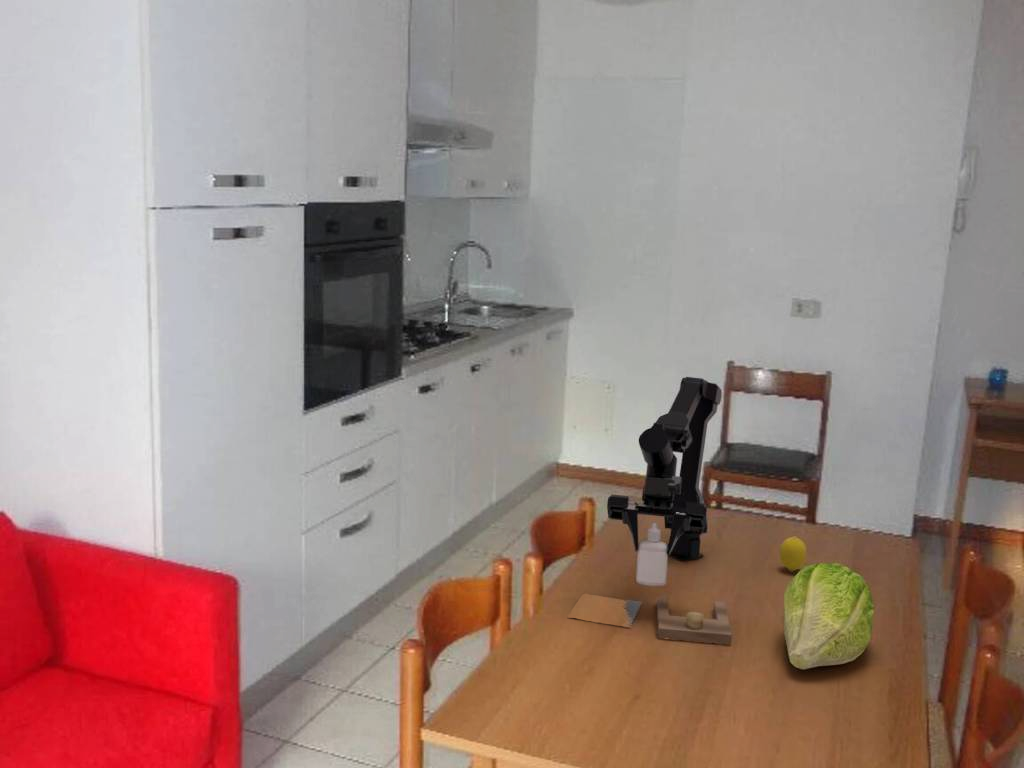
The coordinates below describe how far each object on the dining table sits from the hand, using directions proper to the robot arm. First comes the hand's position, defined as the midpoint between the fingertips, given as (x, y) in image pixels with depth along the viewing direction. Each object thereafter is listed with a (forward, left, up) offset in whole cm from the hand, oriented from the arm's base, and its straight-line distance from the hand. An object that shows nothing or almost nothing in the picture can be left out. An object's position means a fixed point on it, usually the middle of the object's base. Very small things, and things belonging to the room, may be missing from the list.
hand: (652, 552), depth 185 cm
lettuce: (+25, +19, -14) cm, 34 cm away
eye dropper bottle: (-1, +1, -7) cm, 7 cm away
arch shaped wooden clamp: (+6, +6, -13) cm, 16 cm away
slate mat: (-7, -5, -13) cm, 16 cm away
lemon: (-5, +44, -14) cm, 46 cm away
